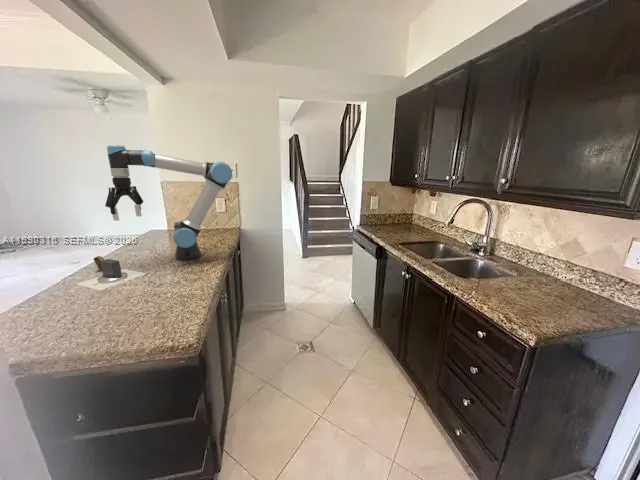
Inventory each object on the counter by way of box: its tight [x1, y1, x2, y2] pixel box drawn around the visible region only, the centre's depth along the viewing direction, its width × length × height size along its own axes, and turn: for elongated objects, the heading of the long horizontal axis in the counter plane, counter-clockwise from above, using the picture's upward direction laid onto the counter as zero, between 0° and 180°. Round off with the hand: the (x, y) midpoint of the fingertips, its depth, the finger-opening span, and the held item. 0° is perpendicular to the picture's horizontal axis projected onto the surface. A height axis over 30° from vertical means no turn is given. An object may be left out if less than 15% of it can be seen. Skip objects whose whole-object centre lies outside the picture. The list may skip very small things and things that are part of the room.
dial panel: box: [76, 268, 147, 291], centre depth 133 cm, size 22×18×2 cm
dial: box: [97, 258, 128, 283], centre depth 132 cm, size 12×12×9 cm
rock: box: [93, 255, 105, 273], centre depth 146 cm, size 11×9×10 cm
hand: (128, 218), depth 143 cm, fingers open, 13 cm apart
